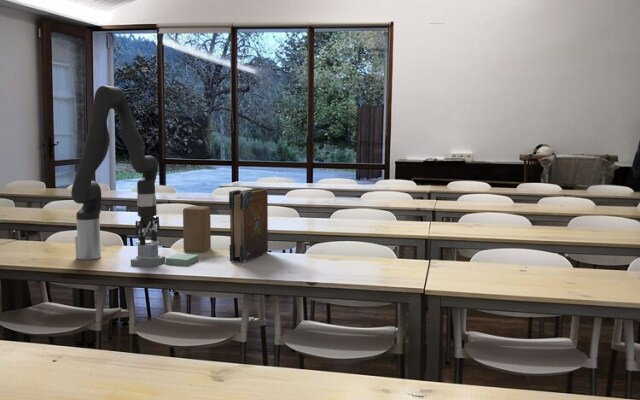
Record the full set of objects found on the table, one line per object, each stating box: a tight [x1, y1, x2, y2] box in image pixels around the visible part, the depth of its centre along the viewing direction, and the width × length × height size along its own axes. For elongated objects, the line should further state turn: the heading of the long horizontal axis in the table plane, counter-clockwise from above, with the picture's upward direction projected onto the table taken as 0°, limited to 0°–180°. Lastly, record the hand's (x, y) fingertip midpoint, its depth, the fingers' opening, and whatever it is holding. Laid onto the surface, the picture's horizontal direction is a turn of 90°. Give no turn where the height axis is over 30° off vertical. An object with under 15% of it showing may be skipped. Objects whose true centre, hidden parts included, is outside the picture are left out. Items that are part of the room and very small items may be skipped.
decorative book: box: [228, 187, 269, 264], centre depth 263 cm, size 23×7×30 cm, turn 157°
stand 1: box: [130, 255, 166, 268], centre depth 250 cm, size 10×10×2 cm
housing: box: [135, 239, 161, 260], centre depth 249 cm, size 8×5×7 cm, turn 74°
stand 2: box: [165, 253, 200, 267], centre depth 253 cm, size 10×10×2 cm
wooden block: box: [182, 205, 212, 253], centre depth 278 cm, size 10×10×20 cm
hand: (148, 243), depth 249 cm, fingers open, 8 cm apart
